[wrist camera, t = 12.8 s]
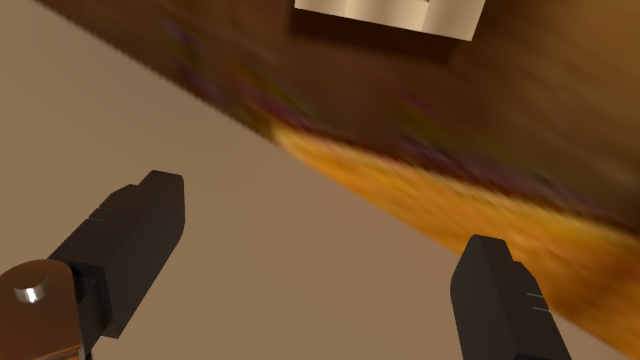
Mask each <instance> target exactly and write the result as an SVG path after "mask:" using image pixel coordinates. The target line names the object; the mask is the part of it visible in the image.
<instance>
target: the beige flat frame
mask: <svg viewBox="0 0 640 360" xmlns="http://www.w3.org/2000/svg"><path fill="white" fill-rule="evenodd" d="M484 3H485V0H295V8H300V9H305V10H310V11H315V12H321V13H326V14H331V15H336V16H342V17H347V18H352V19H357V20H363V21H368V22H373V23H378V24H384V25H389V26H394V27H399V28H405V29H410V30H415V31H421V32H426V33H431V34H436V35H442V36H447V37H452V38H457V39H463V40H468V41H471V40H472V37H473V34H474V31H475V29H476V26H477V23H478V20H479V17H480V14H481V11H482V9H483V6H484Z"/></svg>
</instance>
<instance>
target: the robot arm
mask: <svg viewBox="0 0 640 360" xmlns="http://www.w3.org/2000/svg"><path fill="white" fill-rule="evenodd" d="M184 224H185V203H184V181H183V177H182V176H181V175H177V174H172V173H167V172H162V171H156V170H152V171H151V172H150V173H149V174H148V175H147V176H146V177H145V178H144V179H143V180H142V181H141V182H140V184H139V185H138V186H137V185H132V184H129V185H127V186H125V187H123V188H121V189H119V190H117V191H115V192H113V193H111V194H110V195H109V196H108V197H107V199H105V201H104V202H103V203H102V204H101V205H100V206H99V208H97V209H96V210H95V211H94V212H93V213H92V214H91V215H90V216H89V219H86V220H85V221H84V222H83V223H82V224H81V225H80V226H79V227H78V228H77V229H76V230H75V231H74V232H73V233H72V234H71V235H70V236H69V237H68V238H67V239H66V240H65V241H64V242H63V243H62V244H61V245H60V246H59V247H58V248H57V249H56V250H55V251H54V252H53V253H52V254H51V255H50V256H49V257H48V258H47V259H39V260H33V261H29V262H25V263H22V264H19V265H17V266H15V267H13V268H11V269H9V270H7V271H6V272H4V273H3V274H2V275H0V360H93V353H92V348H93V346H94V345H95V343H96V342H97V340H98V339H99V338H100V336H105V337H111V338H116V339H118V338H119V336H120V335H121V333H122V332H123V330H124V328H125V327H126V325H127V323H128V322H129V320H130V319H131V317H132V316H133V314H134V312H135V311H136V309H137V307H138V306H139V304H140V303H141V301H142V300H143V298H144V296H145V295H146V293H147V292H148V290H149V288H150V287H151V285H152V284H153V282H154V280H155V279H156V277H157V276H158V274H159V272H160V271H161V269H162V268H163V266H164V264H165V263H166V261H167V260H168V258H169V256H170V255H171V253H172V252H173V250H174V248H175V247H176V245H177V244H178V242H179V240H180V238H181V236H182V233H183V229H184ZM450 294H451V301H452V305H453V311H454V315H455V320H456V325H457V330H458V335H459V340H460V345H461V350H462V355H463V360H572V359H571V357H570V355H569V352H568V350H567V348H566V346H565V344H564V341H563V339H562V337H561V335H560V332H559V330H558V328H557V326H556V324H555V321H554V319H553V317H552V315H551V313H549V311H548V310H549V308H548V306H547V304H546V301H545V299H544V298H542V293H541V290H540V288H539V286H538V284H537V282H536V279H535V278H534V277H533V275H532V274H531V273H530V272H529V271H528V270H527V269H526V268H525V267H524V265H523V264H522V263H521V262H517V261H513V259H512V256H511V254H510V251H509V249H508V247H507V244H506V242H505V241H504V240H502V239H497V238H492V237H487V236H482V235H477V234H474V235H473V236H472V237H471V238H470V240H469V241H468V244H467V246H466V248H465V250H464V252H463V254H462V256H461V258H460V261H459V263H458V265H457V267H456V269H455V271H454V273H453V276H452V279H451V286H450Z"/></svg>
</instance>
